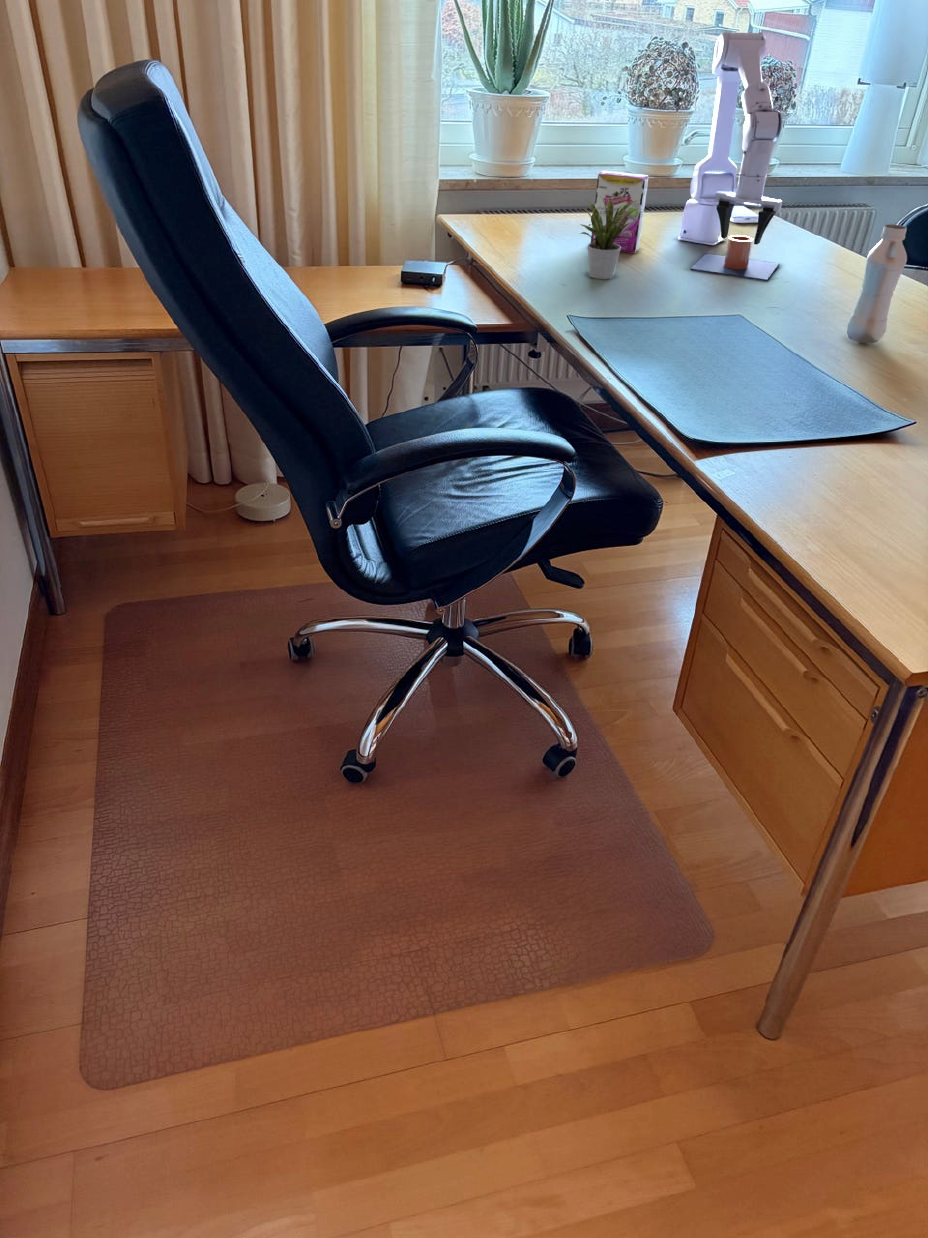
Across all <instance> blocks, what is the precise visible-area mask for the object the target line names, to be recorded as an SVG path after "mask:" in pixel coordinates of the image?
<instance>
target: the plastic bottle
mask: <svg viewBox="0 0 928 1238" xmlns="http://www.w3.org/2000/svg"><path fill="white" fill-rule="evenodd" d="M882 229H883V230H882V232H881V234H880V238H881V240H880V241H879V242H878V243H876V245H875V246H874V247H873V248H872V249H871V250H870V251H869V252H868V255H867V257H866V261H865V262H866V263H865V268H864V273H863V274H864V276H863V281H862V285H861V290H860V293H859V296H858V300H857V302H856V305H855V307H854V311H853V313H852V314H851V316H850V318H849V319H848V323H847V327H846V334H847V338H848V339H850V340H851V341H853V342H857V343H861V344H862V343H863V344H875V343H878V342H879V341H880V340H881V339H883V337H884V335H885V333H886V331H887V326H888V316H889V311H890V306H891V301H892V299H893V296H894V292H895V290H896V287H897V284H898V282H899V279H900V277H901V275H902V273H903V271H904V268H905V266H906V264H907V261H908V255H907V252H906V249H905V246H904V244H903V241H904V240H905V239H906V234H907V229H908V227H907V226H904V225H902V224H891V223H890V224H884V226H883V228H882Z"/></svg>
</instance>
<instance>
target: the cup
mask: <svg viewBox="0 0 928 1238" xmlns="http://www.w3.org/2000/svg"><path fill="white" fill-rule="evenodd" d="M753 244H754V238H752V237H750V236H747V235H740V234H739V235H738V234H737V235H730V236H728V239H727V246H726V250H725V254H724V256H725V260H724V266H725V267H728V268H732V269H746V268H747V267H748V263H749V260H750V259H751V258H750V257H751V253H752V248H753Z"/></svg>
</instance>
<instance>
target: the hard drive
mask: <svg viewBox="0 0 928 1238" xmlns="http://www.w3.org/2000/svg"><path fill="white" fill-rule="evenodd" d="M730 222H732V223H734V224H735V223H736V224H739V223H740V224H741V223H742V224H743V223H744V224H745V223H747V224H748V223H751V224H752V223H758V213H756V212H754V211H752V210H751V209H749V208H747V206H743V205H734V208H733V211H732V215H731V219H730Z"/></svg>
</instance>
